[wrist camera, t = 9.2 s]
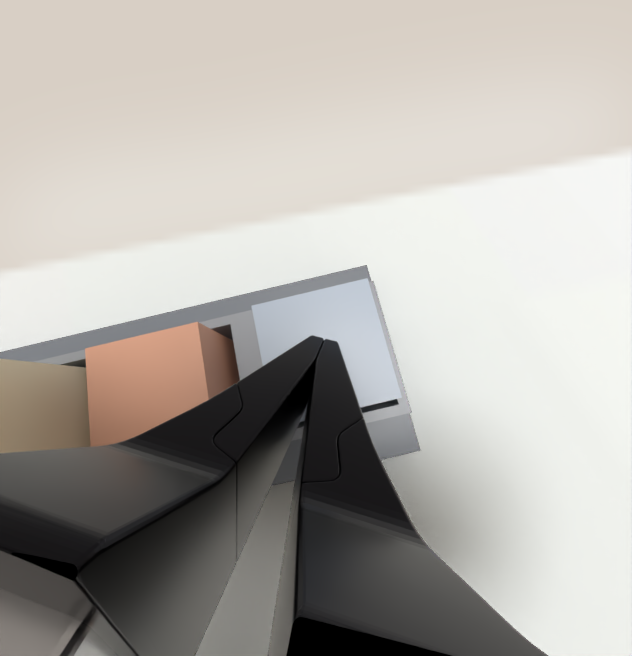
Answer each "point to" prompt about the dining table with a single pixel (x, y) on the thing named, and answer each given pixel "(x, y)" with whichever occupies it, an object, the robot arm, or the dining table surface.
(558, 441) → the dining table surface
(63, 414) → the block
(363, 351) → the key blue
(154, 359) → the peach rectangular block
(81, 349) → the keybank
